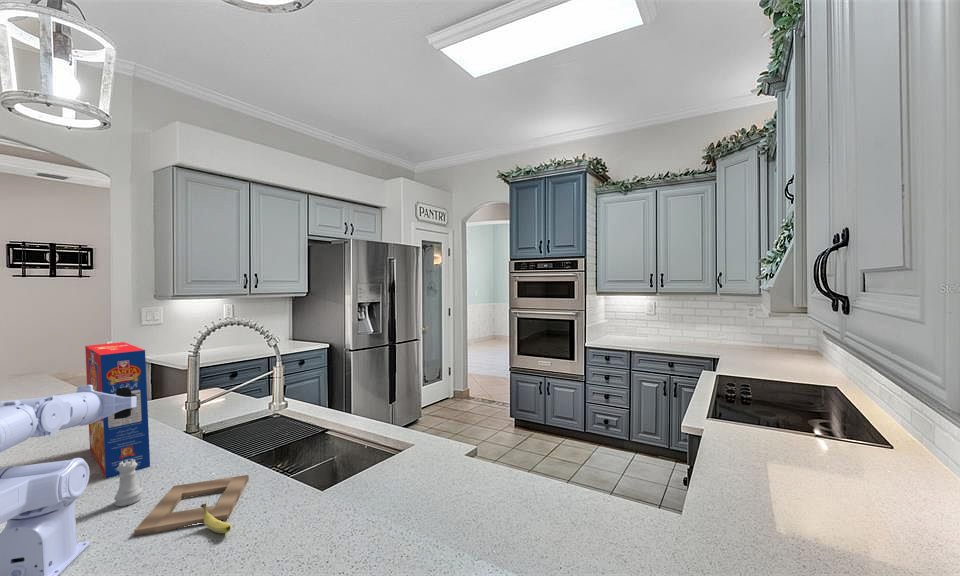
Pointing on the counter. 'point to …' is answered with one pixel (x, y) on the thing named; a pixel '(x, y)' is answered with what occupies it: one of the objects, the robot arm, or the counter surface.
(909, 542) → the counter surface
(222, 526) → the banana
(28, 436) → the robot arm
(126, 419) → the blue and red box
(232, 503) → the walnut socket board
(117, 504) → the rook chess piece
